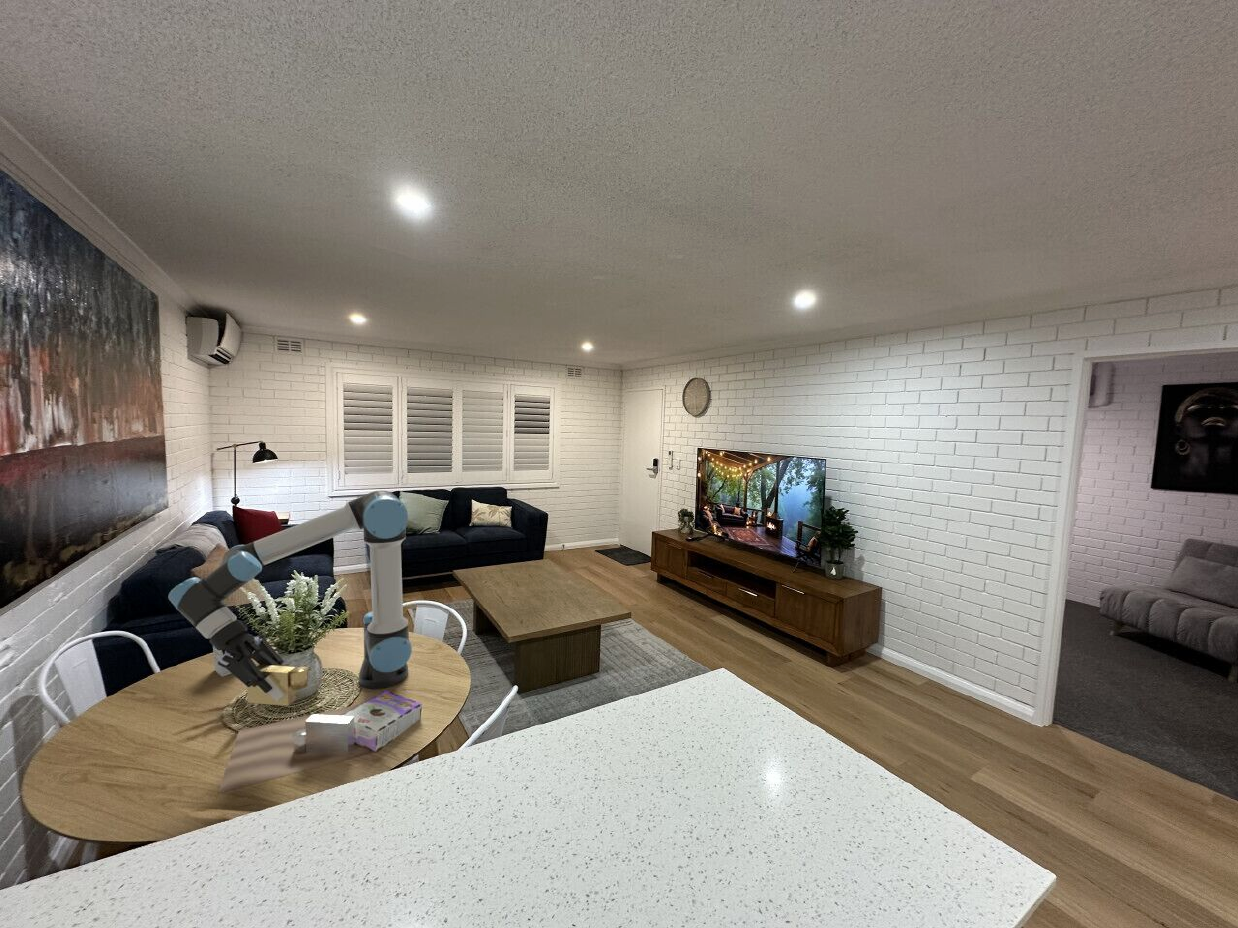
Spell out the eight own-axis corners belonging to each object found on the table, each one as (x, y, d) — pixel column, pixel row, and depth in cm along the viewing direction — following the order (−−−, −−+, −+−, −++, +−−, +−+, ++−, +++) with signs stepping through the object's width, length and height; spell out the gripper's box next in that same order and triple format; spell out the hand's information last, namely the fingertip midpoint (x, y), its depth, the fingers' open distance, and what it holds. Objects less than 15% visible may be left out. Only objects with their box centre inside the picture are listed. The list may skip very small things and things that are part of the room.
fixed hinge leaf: (300, 743, 133) (299, 712, 132) (355, 746, 133) (354, 715, 132) (290, 754, 129) (288, 721, 128) (346, 757, 129) (346, 724, 128)
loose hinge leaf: (258, 695, 134) (257, 663, 133) (312, 699, 133) (311, 667, 132) (246, 703, 130) (245, 670, 129) (301, 708, 129) (301, 675, 128)
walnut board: (239, 734, 138) (239, 730, 138) (368, 705, 153) (368, 702, 153) (218, 797, 116) (218, 793, 116) (371, 756, 131) (371, 752, 131)
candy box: (384, 708, 151) (336, 736, 136) (386, 689, 151) (338, 715, 135) (420, 722, 146) (375, 753, 131) (422, 703, 146) (377, 731, 130)
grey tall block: (239, 661, 176) (237, 627, 174) (247, 668, 171) (245, 633, 170) (213, 670, 170) (211, 634, 168) (221, 677, 165) (219, 641, 164)
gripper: (239, 625, 139) (298, 686, 139) (185, 653, 123) (253, 721, 123) (256, 608, 138) (316, 669, 139) (205, 633, 122) (273, 703, 123)
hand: (286, 693), depth 131 cm, fingers closed on loose hinge leaf, 3 cm apart
